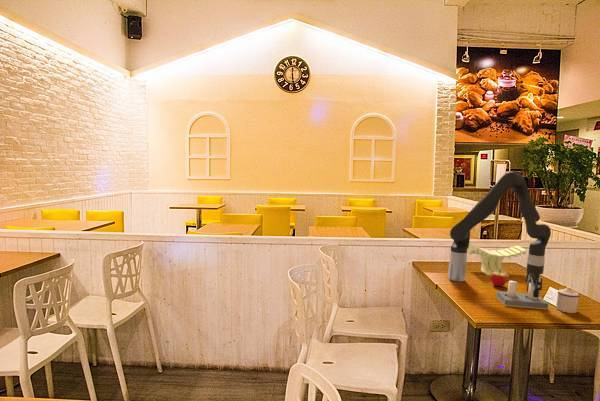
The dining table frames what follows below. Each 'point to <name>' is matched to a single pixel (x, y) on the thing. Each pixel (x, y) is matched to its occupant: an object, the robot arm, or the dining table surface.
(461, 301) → the dining table surface
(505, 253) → the slatted curved stool
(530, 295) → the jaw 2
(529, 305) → the housing
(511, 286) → the jaw
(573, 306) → the teacup with lid
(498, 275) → the apple
